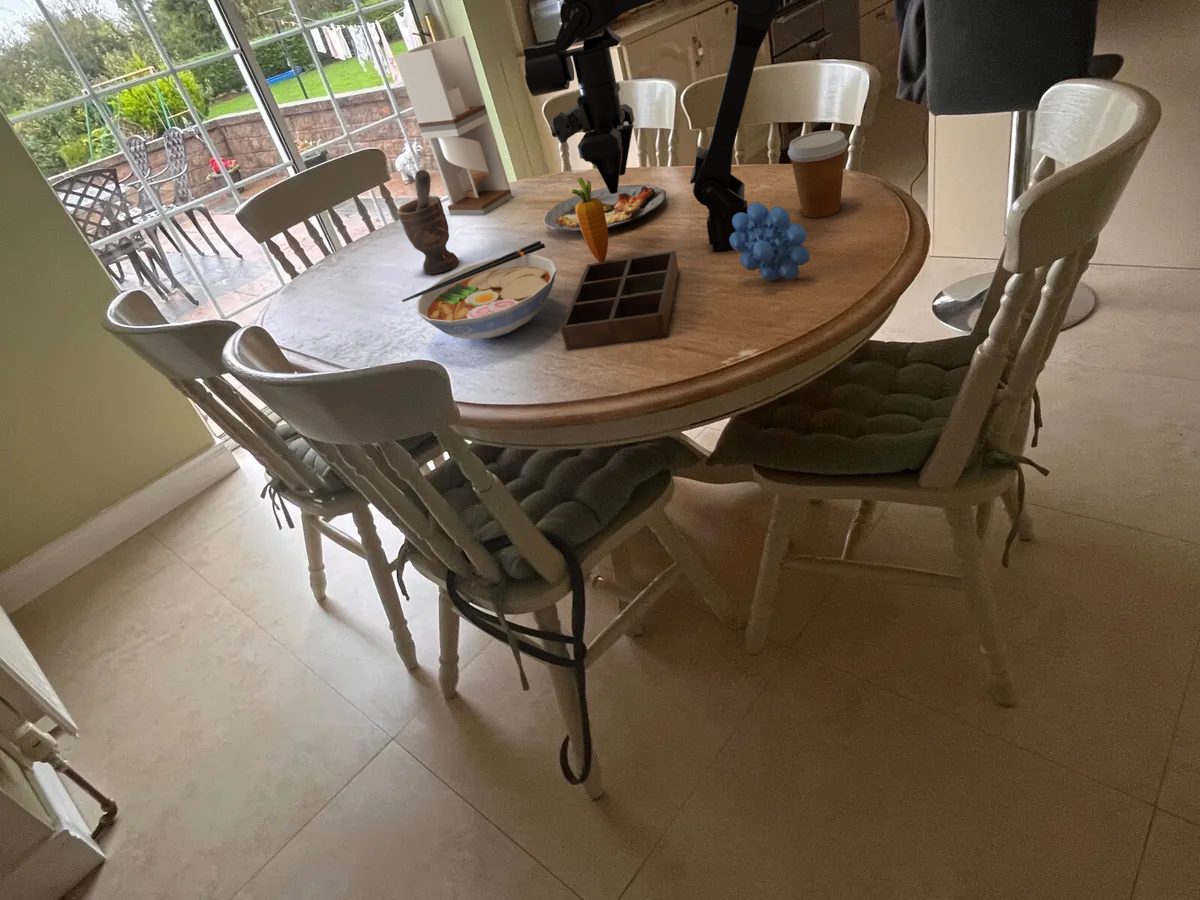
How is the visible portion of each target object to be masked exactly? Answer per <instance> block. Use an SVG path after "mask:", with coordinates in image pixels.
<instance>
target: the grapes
mask: <svg viewBox="0 0 1200 900" xmlns="http://www.w3.org/2000/svg"><path fill="white" fill-rule="evenodd" d="M747 213H748V215H747V214H746V213H741V212H739V213H737V214H735V215H734V216H733V219H732V224H733V227H734V228H735V230H736V232H734V233H732V234H731V236H730V238H729V240H730V244H731V246H732V248H733V249H732V250H734V251H737V252H738V253H741V254H740V256H739V261H740V263H741V266H742V267H743V268H744V269H746V270H747V271H755V270H758V271H759V272H758V273H759V275H760V276H761V278H762V279H764V280H765V281H767V282H774V281H776V280H778V279H779V277H780V276H781V277H782V278H784V279H785V280H794V279H795V278H797V277H798V276H799V274H800V269H799V266H804V265H806V264H807V263H809V262H810V259H811V255H810V251H809V249H808V247H806V246H804V245H803V244H804V243H805V242H806V240H807V231H806V229H805V228H804V227H803V226H802V225H801V224H799V223H795V222H793V223H791V216H790V213H789V212H788V210H786V209H785V208H784V207H782V206H775V207H772V208H771V209H770V210H768V208H767V206H765V204H763V203H760V202H753V203H751V204H749V205H748V209H747Z"/></svg>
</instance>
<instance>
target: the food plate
mask: <svg viewBox="0 0 1200 900" xmlns="http://www.w3.org/2000/svg"><path fill="white" fill-rule="evenodd" d="M584 194H585V193H584ZM666 195H667V191H666V190H665V189H663V188H660V187H659V186H653V185H650V184H626V185H625V184H621V185H619V184H618V191H617V193H614V194H611V193H610V192H609V190H608V188H607V186H606V187H601V188H598V189H594V190H591V198H598V199H599V200H600V201H601V203H602V204H603V208H604V213H605V218H606V223H607V229H611V228H614V227H617V226H621V225H624V224H628V223H631V222H634V221H635V220H638V219H640V218H644V217H645V216H647V214H649V213H651V212H652V211H654V210H655V209H657V208H658V207H659V206H662V205H663V204H664V203H665V201H666V199H667V196H666ZM580 201H582V198H581V197H580V196H578V195H575V196H572V197H570V198H567V199H566V200H562V201H561V202H559V203H557V204H556V205H554V207H552V208H551V209H549V210H548V211H547V212H546V213H545V215H544V218H543V225H545V227H547V228H549V229H551V230H565V231H570V232H571V231H573V232H574V231H581V228H580V225H579V222H578V218H577V215H576V211H575V206H576V205H577V204H578V203H579V202H580Z"/></svg>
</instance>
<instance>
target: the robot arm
mask: <svg viewBox="0 0 1200 900" xmlns="http://www.w3.org/2000/svg"><path fill="white" fill-rule="evenodd" d="M728 1H729V2H730V3H732V4H734V5H735V6H736V17H735V30H734V42H733V47H732V52H731V56H730V60H729V64H728V68H727V72H726V76H725V81H724V85H723V89H722V92H721V93H722V94H721V97H720V102H719V105H718V110H717V113H716V118H715V122H714V126H713V131H712V135H711V138H710V140H709V142H708V145H707V146H706V147H705V148H704V147H701V146H698V147H697V150H696V157H695V164H694V166H693V168H692V171H691V176H690V181H689V183H690V184H691V185H692V184H693V187H692V188H693V189H692V191H693V196H694V197H695V199H696V201H697V202H698V203H699V204H700V205H702V206H705V207H706V208H707V210H708V216H706V217H707V218H706V228H707V235H708V241H709V242H708V243H709V245H710V246H712V248H711V249H712V252H713V253H716V252H722V251H728V250H729V251H730V250H734V249H733V248H732V246H731V244H730V240H729V238H730V236H731V234H732V233H734V232H736V230H735V228H734V227H733V224H732V219H733V216H734V215H735V214H737V213H739V212H741V213H746V214H747V215H748V213H747V209H748V207H749V204H748V199H745V186H746V185H745V184H746V183H744V182H743V181H742V180H740V178H738V177H736V176H735V175H734V174H733V173H732V163H733V153H734V146H735V141H736V137H737V134H738V130H739V127H740V123H741V120H742V115H743V111H744V108H745V103H746V100H747V95H748V91H749V88H750V84H751V82H752V76H753V73H754V69H755V65H756V61H757V57H758V54H759V51H760V48H761V46H762V45H763V42H764V41H765V38H766V36H767V35H768V32H769V30H770V28H771V26H772V23H773V21H774V18H775V16H776V14H777V11H778V9H779V6H780V1H781V0H728ZM653 2H656V0H563V1H562V2H561V6H560V12H559V17H560V22H561V25H560V28H559V31H558V34H557V36H556V37H555V41H554V42H550V43H545V44H541V45H530V46H527V47H526V48H525V49H524V50H523V55H524V72H525V75H524V79H525V82H526V85H527V89H528V91H529V93H530V95H531V96H532V97H538V96H542V95H543V96H544V95H548V94H552V93H557V92H563V91H565V90H569V89H570V82H573V81H574V80H575V74H576V80H577V85H578V87H579V89H578V90H579V92H580V94H579V96H578V98H576V103H577V104H576V105H575V106H573V107H572V108H570V109H569V110H568V111H566V112H565V113H564V112H563V111H560V112H559V113H558V114H557V115H554V116H553V118H552V119H551V125H550V126H549V127H550V130H551V137H553V138H557V140H558V142H559V143H560V144H561V145H562V144H564V143H566V142H567V141H568V139H569V138H571V137H572V136H574V135H575V134H577V133H579V132H580V131H582V132H583V134H584V135H583V136H582V138H581V139H580V141H579V143H578V145H577V149H578V155H579V158H580V159H581V160H582V159H583V161H584V162H586V163H587V162H589V163H590V164H592V165H593V166H595V167H596V168H597V170H598V172H599V174H600V176H601V178H602V180H603V183H604V185H606V187H607V188H608V190H609V192H610V193H611V194H614V193H617V191H618V185H619V182H620V176H624V175H626V171H627V165H628V158H629V152H630V145H631V141H632V134H633V129H634V122H635V116H634V112H633V108H632V107H631V106H629V105H628V104H627V103H623V104H621V100H620V96H619V92H620V90H621V87H620V82H617V80H616V75H615V70H614V65H613V60H612V58H613V57H612V54H611V49H610V48H613V47H617V46H619V44H620V43H621V42H622V36H620V35H618V34H617V33H615V32H614V31H613V30H612V29H611V28H610V27H606V28H605V29H604V30H603V33H602V34H600V35H596V36H592V37H588V36H590V35H591V34H593V33H595V32H596V31H598V30H599V29H601V28H603V27H604V26H606V25H608V24H609V23H611V22H612V21H614V20H615V19H617V18H618V17H620V16H622V15H624V14H625V13H626V12H629V11H631V10H634V9H636V8H639V7H642V6H644V5H647V4H650V3H653ZM585 37H586V38H585ZM580 38H584V39H583V43H582V44H583V45H582V46H580V47H575V48H571V47H572V46H573V45H574V44H575V43H576V41H578V40H579V39H580ZM570 48H571V49H570ZM625 122H627V124H625Z"/></svg>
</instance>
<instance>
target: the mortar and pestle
mask: <svg viewBox="0 0 1200 900" xmlns="http://www.w3.org/2000/svg"><path fill="white" fill-rule="evenodd" d="M431 181H432V180H431V176H430V173H429V172H428V171H427V170H425V169H419V170H418V171H416V172H415V176H414V185H415V192H416V196H417V198H415V199H412V200H411V201H408V202H406V203H404V204H403V205H401V206H400V207H399V208H398V209H397V210H396V214H397V217H398V219H399V222H400V223H401V226H402V229H403V231H404V233H405V235H406V237H407V239H408V241H409V242H410V243H411V244H412V246H413V248H414V249H416V250H417V251H419V252H421V253H422V254H423V255H424V256H425V257H424V261H423V263H422V271H423V272H422V273H424V274H425V275H429V276H431V275H435V274H436V275H437V274H441V273H445V272H449V271H450V270H452V269H454V268H456V267H457V266H458V264H459V258H458V257H457V255H456V254H455V253H454V252H452V251H449V250H448V249H447V244H448V241H449V239H450V233H449V224H448V220H447V217H446V214H445V211H444V207H443V204H442V201H441V198H440V197H439V196H437V195H431V196H430V192H431Z"/></svg>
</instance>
